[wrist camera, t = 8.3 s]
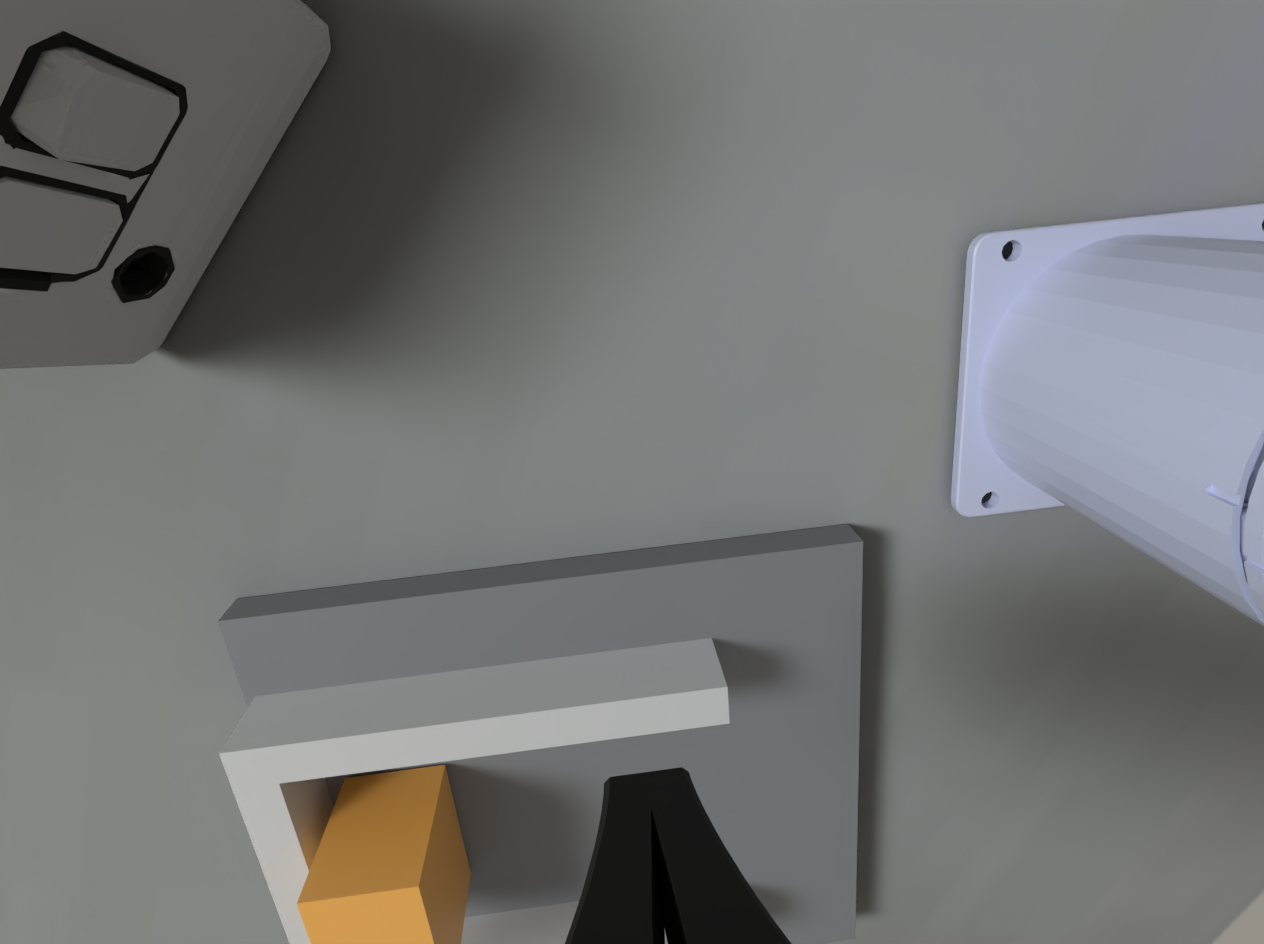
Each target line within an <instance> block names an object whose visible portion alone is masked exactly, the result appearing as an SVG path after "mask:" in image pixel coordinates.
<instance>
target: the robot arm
mask: <svg viewBox="0 0 1264 944" xmlns="http://www.w3.org/2000/svg"><path fill="white" fill-rule="evenodd" d="M1263 220H1264V203H1255V204H1246V205H1237V206H1227V207H1218V208H1208V209H1199V210H1189V211H1180V212H1171V213H1161V214H1152V215H1142V216H1133V217H1123V218H1114V219H1105V220H1095V221H1086V222H1076V223H1067V224H1057V225H1048V226H1039V227H1029V228H1020V229H1010V230H1001V231H991V232H985V233H982V234H980V235H978V236H977V237H976V238H974V239H973V241H972V242H971V244H970V245H969V248H968V252H967V263H966V278H965V293H964V308H963V323H962V339H961V354H960V369H959V384H958V399H957V414H956V430H955V445H954V460H953V475H952V490H951V504H952V507H953V508H954V510H955V511H957V512H958V513H959V514H961V515H962V516H964V517H978V516H986V515H994V514H1002V513H1010V512H1018V511H1027V510H1035V509H1043V508H1051V507H1059V506H1068V507H1070V508H1071V509H1073V510H1075V511H1076V512H1078V513H1079V514H1081V515H1083V516H1084V517H1086V518H1088V519H1089V520H1091V521H1093V522H1094V523H1096V524H1097V525H1099V526H1101V527H1102V528H1104V529H1106V530H1107V531H1109V532H1110V533H1112V534H1114V535H1115V536H1117V537H1119V538H1120V539H1122V540H1124V541H1125V542H1127V543H1128V544H1130V545H1132V546H1133V547H1135V548H1137V549H1138V550H1140V551H1142V552H1143V553H1145V554H1146V555H1148V556H1150V557H1151V558H1153V559H1155V560H1156V561H1158V562H1159V563H1161V564H1163V565H1164V566H1166V567H1168V568H1169V569H1171V570H1173V571H1174V572H1176V573H1177V574H1179V575H1181V576H1182V577H1184V578H1186V579H1187V580H1189V581H1191V582H1192V583H1194V584H1195V585H1197V586H1199V587H1200V588H1202V589H1204V590H1205V591H1207V592H1208V593H1210V594H1212V595H1213V596H1215V597H1217V598H1218V599H1220V600H1222V601H1223V602H1225V603H1226V604H1228V605H1230V606H1231V607H1233V608H1235V609H1236V610H1238V611H1240V612H1241V613H1243V614H1244V615H1246V616H1248V617H1249V618H1251V619H1253V620H1254V621H1256V622H1257V623H1259V624H1261V625H1262V626H1264V229H1263V230H1262V222H1263ZM1009 241H1010V242H1011V243H1012V245H1013V251H1012V254H1011V255H1010V256H1009V257H1008V258H1007V259H1004V258H1003V257H1002V249H1003V246H1004V245H1005V244H1006V243H1007V242H1009ZM989 492H991V493H992V495H991V498H990V499H989V500H988V501H987V502H985V503H981V501H982V498H983V496H984V495H985V494H986V493H989ZM664 929H665V930H664ZM665 933H666V938H667V943H668V944H792V943H791V942H790V941H789V940H788V938H787V937H786V936H785V934H784V933H783V932H782V930H781V929H780V928H779V926H778V925H777V924H776V922H775V921H774V920H773V918H772V917H771V915H770V914H769V913H768V911H767V910H766V908H765V907H764V906H763V904H762V903H761V901H760V900H759V898H758V897H757V896H756V894H755V893H754V891H753V890H752V888H751V887H750V885H749V884H748V882H747V881H746V879H745V878H744V876H743V875H742V873H741V871H740V870H739V868H738V867H737V865H736V863H735V862H734V860H733V858H732V857H731V855H730V854H729V852H728V850H727V849H726V847H725V846H724V844H723V842H722V840H721V839H720V837H719V835H718V833H717V832H716V830H715V828H714V826H713V824H712V822H711V821H710V819H709V817H708V815H707V813H706V811H705V809H704V807H703V805H702V803H701V801H700V799H699V797H698V794H697V792H696V790H695V787H694V785H693V783H692V780H691V777H690V774H689V772H688V771H687V770H685V769H684V768H682V767H680V768H672V769H665V770H658V771H650V772H643V773H636V774H628V775H621V776H614V777H609V779H608V780H607V781H606V782H605V783H604V794H603V803H602V811H601V817H600V822H599V828H598V832H597V837H596V841H595V846H594V850H593V854H592V858H591V861H590V865H589V869H588V872H587V876H586V880H585V883H584V887H583V891H582V894H581V897H580V900H579V903H578V906H577V909H576V912H575V915H574V918H573V921H572V924H571V927H570V930H569V933H568V936H567V939H566V942H565V944H665Z"/></svg>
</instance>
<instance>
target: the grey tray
mask: <svg viewBox="0 0 1264 944" xmlns="http://www.w3.org/2000/svg"><path fill="white" fill-rule="evenodd" d="M862 577H863V541H862V539H861V538H860V537H859V536H858V535H857V534H856V532H855V531H854V530H853V529H852V528H851V527H850V526H849V524H843V525H835V526H826V527H818V528H810V529H802V530H794V531H786V532H778V533H769V534H761V535H753V536H745V537H737V538H729V539H720V540H712V541H704V542H696V543H688V544H680V545H672V546H663V547H655V548H647V549H639V550H631V551H623V552H614V553H606V554H598V555H590V556H582V557H574V558H566V559H557V560H549V561H541V562H533V563H525V564H517V565H508V566H500V567H492V568H484V569H476V570H468V571H459V572H451V573H443V574H435V575H427V576H419V577H411V578H402V579H394V580H386V581H378V582H370V583H362V584H353V585H345V586H337V587H329V588H321V589H313V590H305V591H296V592H288V593H280V594H272V595H264V596H256V597H247V598H239V599H236V600H235V601H234V603H233V604H232V605H231V606H230V607H229V609H228V610H227V611H226V612H225V613H224V615H223V616H222V617H221V618H220V619H219V621H218V623H219V626H220V628H221V631H222V634H223V637H224V640H225V643H226V646H227V649H228V652H229V655H230V657H231V660H232V663H233V666H234V669H235V672H236V675H237V678H238V681H239V684H240V686H241V689H242V692H243V695H244V698H245V701H246V704H247V707H248V709H247V710H246V712H245V713H244V715H243V716H242V718H241V720H240V721H239V723H238V724H237V726H236V727H235V729H234V731H233V732H232V734H231V735H230V737H229V739H228V740H227V742H226V743H225V745H224V746H223V748H222V750H221V751H220V753H219V755H220V758H221V760H222V763H223V766H224V768H225V771H226V774H227V776H228V779H229V782H230V784H231V787H232V790H233V792H234V795H235V798H236V801H237V803H238V806H239V809H240V811H241V814H242V817H243V819H244V822H245V825H246V827H247V830H248V833H249V835H250V838H251V841H252V844H253V846H254V849H255V852H256V854H257V857H258V860H259V862H260V865H261V868H262V870H263V873H264V876H265V878H266V881H267V884H268V887H269V889H270V892H271V895H272V897H273V900H274V903H275V905H276V908H277V911H278V913H279V916H280V919H281V921H282V924H283V927H284V930H285V932H286V935H287V938H288V940H289V943H290V944H311V943H310V940H309V937H308V934H307V931H306V929H305V926H304V923H303V920H302V917H301V915H300V912H299V909H298V906H297V901H298V899H299V896H300V894H301V891H302V888H303V886H304V883H305V881H306V878H307V876H308V873H309V870H310V868H311V865H312V863H313V860H314V857H315V855H316V852H317V850H318V847H319V844H320V842H321V839H322V837H323V834H324V832H325V829H326V826H327V824H328V821H329V819H330V816H331V813H332V811H333V808H334V806H335V803H336V801H337V798H338V795H339V793H340V790H341V788H342V785H343V782H344V780H345V778H349V777H356V776H364V775H371V774H379V773H386V772H394V771H401V770H409V769H416V768H424V767H431V766H439V765H445V766H446V770H447V774H448V779H449V783H450V787H451V791H452V796H453V800H454V804H455V808H456V813H457V817H458V821H459V825H460V830H461V834H462V838H463V842H464V847H465V851H466V855H467V859H468V864H469V868H470V872H471V877H470V884H469V891H468V897H467V904H466V911H465V918H464V925H463V932H462V939H461V944H565V942H566V939H567V936H568V933H569V930H570V927H571V924H572V921H573V918H574V915H575V912H576V909H577V906H578V903H579V900H580V897H581V894H582V891H583V887H584V883H585V880H586V876H587V872H588V869H589V865H590V861H591V858H592V854H593V850H594V846H595V841H596V837H597V832H598V828H599V822H600V817H601V811H602V803H603V794H604V783H605V782H606V781H607V780H608V779H609V777H614V776H621V775H628V774H636V773H643V772H650V771H658V770H665V769H672V768H680V767H682V768H684V769H685V770H687V771H688V772H689V774H690V777H691V780H692V783H693V785H694V787H695V790H696V792H697V794H698V797H699V799H700V801H701V803H702V805H703V807H704V809H705V811H706V813H707V815H708V817H709V819H710V821H711V822H712V824H713V826H714V828H715V830H716V832H717V833H718V835H719V837H720V839H721V840H722V842H723V844H724V846H725V847H726V849H727V850H728V852H729V854H730V855H731V857H732V858H733V860H734V862H735V863H736V865H737V867H738V868H739V870H740V871H741V873H742V875H743V876H744V878H745V879H746V881H747V882H748V884H749V885H750V887H751V888H752V890H753V891H754V893H755V894H756V896H757V897H758V898H759V900H760V901H761V903H762V904H763V906H764V907H765V908H766V910H767V911H768V913H769V914H770V915H771V917H772V918H773V920H774V921H775V922H776V924H777V925H778V926H779V928H780V929H781V930H782V932H783V933H784V934H785V936H786V937H787V938H788V940H789V941H790V942H791V943H792V944H821V943H828V942H834V941H841V940H848V939H855V929H856V879H857V828H858V778H859V728H860V678H861V628H862ZM664 930H665V929H664ZM665 944H668V943H667V938H666V933H665Z"/></svg>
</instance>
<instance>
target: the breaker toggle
mask: <svg viewBox="0 0 1264 944" xmlns="http://www.w3.org/2000/svg"><path fill="white" fill-rule="evenodd" d="M470 877H471V872H470V868H469V864H468V859H467V855H466V851H465V847H464V842H463V838H462V834H461V830H460V825H459V821H458V817H457V813H456V808H455V804H454V800H453V796H452V791H451V787H450V783H449V779H448V774H447V770H446V766H445V765H439V766H431V767H424V768H416V769H409V770H401V771H394V772H386V773H379V774H371V775H364V776H356V777H349V778H345V780H344V782H343V785H342V788H341V790H340V793H339V795H338V798H337V801H336V803H335V806H334V808H333V811H332V813H331V816H330V819H329V821H328V824H327V826H326V829H325V832H324V834H323V837H322V839H321V842H320V844H319V847H318V850H317V852H316V855H315V857H314V860H313V863H312V865H311V868H310V870H309V873H308V876H307V878H306V881H305V883H304V886H303V888H302V891H301V894H300V896H299V899H298V901H297V906H298V909H299V912H300V915H301V917H302V920H303V923H304V926H305V929H306V931H307V934H308V937H309V940H310V943H311V944H461V939H462V932H463V925H464V918H465V911H466V904H467V897H468V891H469V884H470Z"/></svg>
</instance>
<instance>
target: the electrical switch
mask: <svg viewBox="0 0 1264 944" xmlns="http://www.w3.org/2000/svg"><path fill="white" fill-rule="evenodd" d="M330 50H331V45H330V36H329V27H328V25H327V24H326V23H325V22H324V21H323V20H322V19H321V18H320V17H318V16H317V15H316V14H315V13H314V12H313V11H312V10H311V9H310V8H309V7H308V6H307V5H306V4H305V3H303V2H302V1H301V0H0V369H6V368H31V367H56V366H80V365H105V364H130V363H135V362H136V361H138V360H140V359H141V358H143V357H145V356H146V355H148V354H149V353H151V352H153V351H154V350H156V349H157V348H159V347H160V346H161V344H162V343H163V342H164V340H165V338H166V337H167V335H168V333H169V331H170V330H171V328H172V326H173V325H174V323H175V321H176V319H177V318H178V316H179V314H180V312H181V311H182V309H183V307H184V306H185V304H186V302H187V300H188V299H189V297H190V295H191V294H192V292H193V290H194V288H195V287H196V285H197V283H198V281H199V280H200V278H201V276H202V275H203V273H204V271H205V269H206V268H207V266H208V264H209V263H210V261H211V259H212V257H213V256H214V254H215V252H216V250H217V249H218V247H219V245H220V244H221V242H222V240H223V238H224V237H225V235H226V233H227V231H228V230H229V228H230V226H231V225H232V223H233V221H234V219H235V218H236V216H237V214H238V213H239V211H240V209H241V207H242V206H243V204H244V202H245V200H246V199H247V197H248V195H249V194H250V192H251V190H252V188H253V187H254V185H255V183H256V181H257V180H258V178H259V176H260V175H261V173H262V171H263V169H264V168H265V166H266V164H267V163H268V161H269V159H270V157H271V156H272V154H273V152H274V150H275V149H276V147H277V145H278V144H279V142H280V140H281V138H282V137H283V135H284V133H285V131H286V130H287V128H288V126H289V125H290V123H291V121H292V119H293V118H294V116H295V114H296V113H297V111H298V109H299V107H300V106H301V104H302V102H303V100H304V99H305V97H306V95H307V94H308V92H309V90H310V88H311V87H312V85H313V83H314V81H315V80H316V78H317V76H318V75H319V73H320V71H321V69H322V68H323V66H324V64H325V63H326V61H327V59H328V56H329V53H330Z"/></svg>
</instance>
